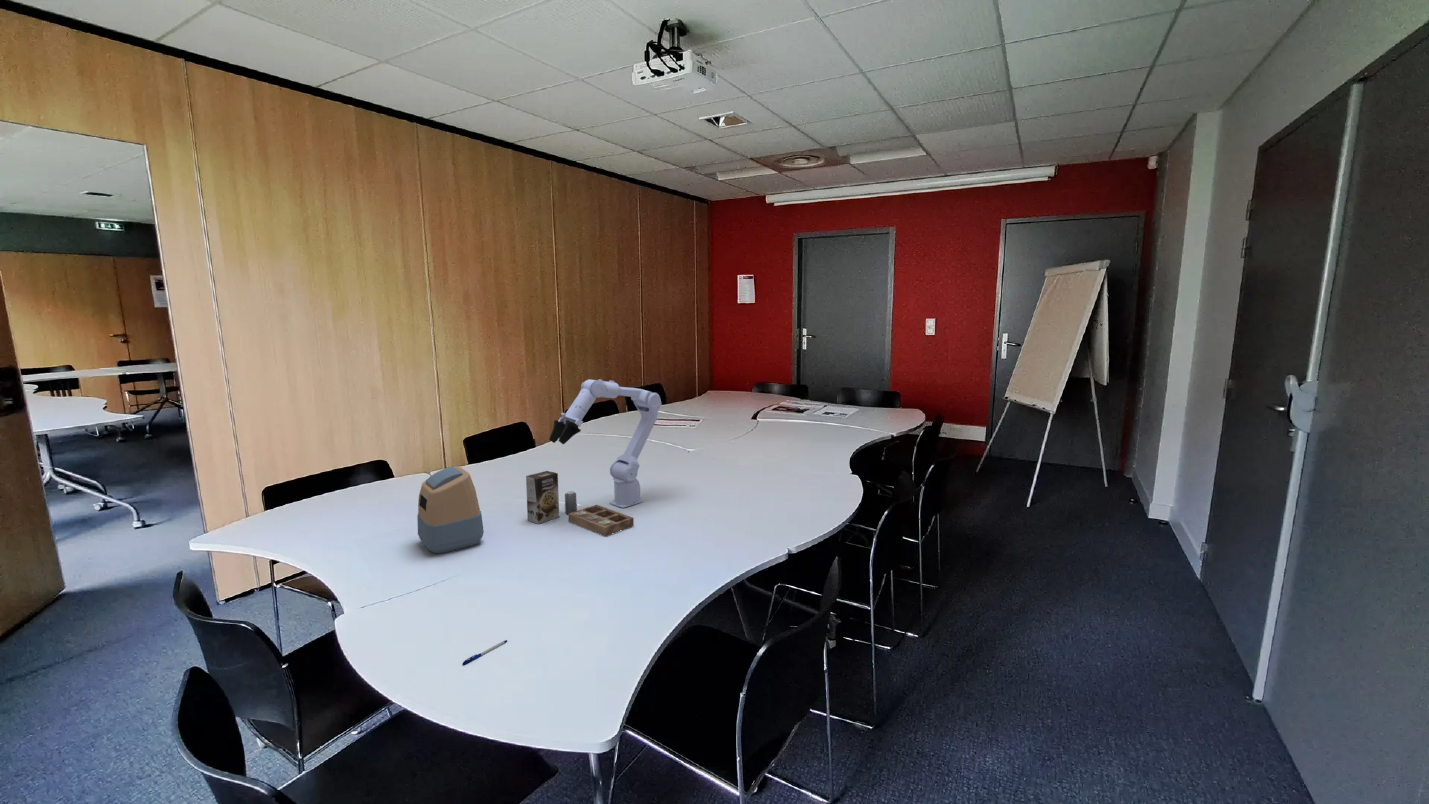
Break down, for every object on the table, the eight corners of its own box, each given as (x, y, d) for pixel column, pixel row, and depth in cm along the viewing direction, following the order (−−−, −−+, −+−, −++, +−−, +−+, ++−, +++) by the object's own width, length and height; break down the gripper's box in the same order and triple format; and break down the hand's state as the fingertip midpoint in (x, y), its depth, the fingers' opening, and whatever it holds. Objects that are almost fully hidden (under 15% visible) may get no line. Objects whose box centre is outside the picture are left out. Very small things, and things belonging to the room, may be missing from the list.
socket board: (596, 512, 206) (596, 503, 206) (633, 526, 193) (633, 516, 193) (568, 521, 197) (568, 512, 197) (605, 536, 184) (605, 526, 184)
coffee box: (538, 524, 194) (536, 478, 192) (527, 520, 198) (524, 475, 196) (560, 517, 202) (558, 472, 199) (548, 513, 205) (547, 469, 203)
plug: (572, 509, 209) (571, 489, 208) (579, 512, 206) (578, 492, 205) (563, 512, 206) (562, 492, 205) (569, 515, 203) (569, 494, 202)
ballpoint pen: (464, 667, 117) (464, 662, 117) (461, 665, 118) (461, 661, 117) (507, 642, 126) (507, 638, 126) (505, 641, 126) (505, 637, 126)
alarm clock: (415, 541, 180) (409, 470, 176) (470, 529, 190) (466, 461, 187) (429, 559, 167) (423, 483, 163) (488, 544, 178) (483, 472, 174)
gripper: (561, 402, 200) (538, 434, 195) (579, 402, 189) (556, 436, 184) (576, 413, 204) (554, 445, 199) (594, 414, 192) (572, 448, 187)
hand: (556, 442), depth 191 cm, fingers open, 7 cm apart
